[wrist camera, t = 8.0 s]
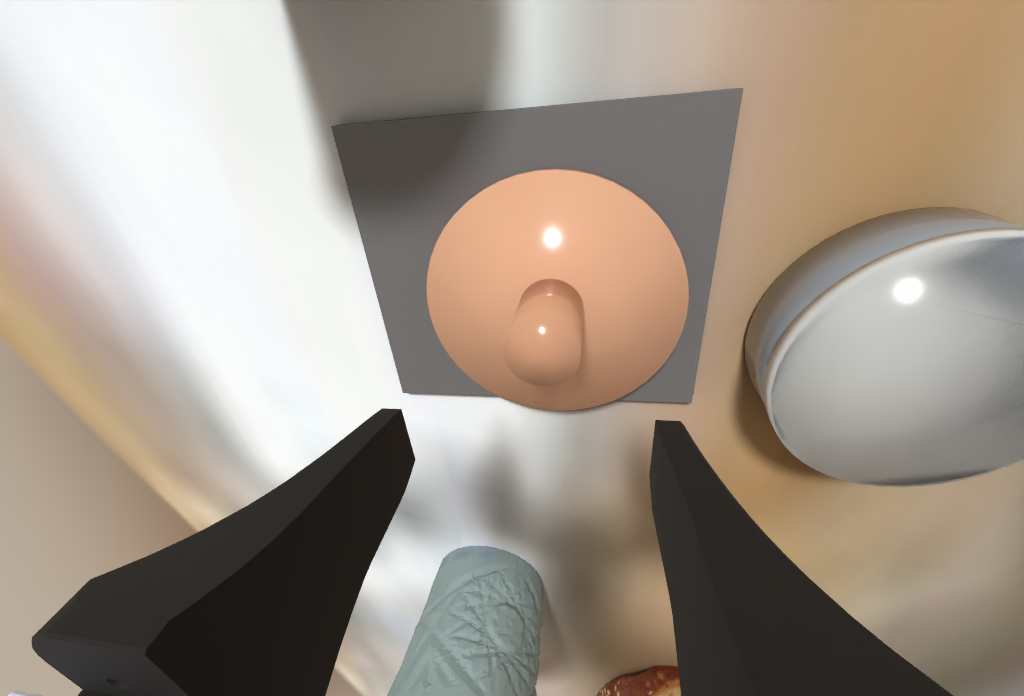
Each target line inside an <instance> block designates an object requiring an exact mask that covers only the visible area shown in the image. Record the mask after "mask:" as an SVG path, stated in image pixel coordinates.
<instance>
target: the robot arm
mask: <svg viewBox="0 0 1024 696" xmlns="http://www.w3.org/2000/svg"><path fill="white" fill-rule="evenodd" d="M414 462H415V457H414V453H413V450H412V446H411V442H410V439H409V435H408V432H407V428H406V424H405V421H404V417H403V414H402V410H401V409H381V410H380V411H378V412H377V413H375V414H374V415H373V416H372V417H370V418H369V419H368V420H366V421H365V422H364V423H363V424H361V425H360V426H359V427H358V428H356V429H355V430H354V431H353V432H351V433H350V434H349V435H348V436H346V437H345V438H344V439H342V440H341V441H340V442H339V443H337V444H336V445H335V446H334V447H332V448H331V449H330V450H328V451H327V452H326V453H325V454H323V455H322V456H321V457H319V458H318V459H316V460H315V461H314V462H312V463H311V464H310V465H308V466H307V467H305V468H304V469H303V470H301V471H300V472H299V473H297V474H296V475H294V476H293V477H292V478H290V479H289V480H287V481H286V482H284V483H283V484H281V485H280V486H278V487H277V488H275V489H274V490H272V491H270V492H269V493H267V494H266V495H264V496H262V497H261V498H259V499H258V500H256V501H254V502H253V503H251V504H249V505H248V506H246V507H244V508H242V509H241V510H239V511H237V512H235V513H233V514H231V515H230V516H228V517H226V518H224V519H222V520H221V521H219V522H217V523H215V524H213V525H211V526H210V527H208V528H206V529H204V530H202V531H200V532H198V533H196V534H194V535H192V536H190V537H188V538H186V539H184V540H182V541H179V542H177V543H175V544H173V545H171V546H169V547H166V548H164V549H162V550H160V551H158V552H156V553H153V554H151V555H149V556H147V557H144V558H142V559H140V560H137V561H134V562H132V563H130V564H127V565H125V566H122V567H120V568H117V569H115V570H113V571H110V572H108V573H105V574H103V575H100V576H98V577H95V578H93V579H91V580H89V581H88V582H87V583H86V584H85V585H84V586H83V587H82V588H81V589H80V590H79V591H78V592H77V593H76V594H75V595H74V596H73V597H72V598H71V599H70V600H69V601H68V602H67V603H66V604H65V605H64V606H63V607H62V608H61V609H60V610H59V611H58V612H57V613H56V614H55V615H54V616H53V617H52V618H51V619H50V620H49V621H48V622H47V623H46V624H45V625H44V626H43V627H42V628H41V629H40V630H39V631H38V632H37V633H36V634H35V635H34V636H33V637H32V648H33V649H34V650H35V652H36V653H37V654H38V656H40V657H41V658H42V659H43V660H44V661H45V662H47V663H48V664H49V665H51V666H52V667H53V668H55V669H56V670H58V671H59V672H60V673H61V674H63V675H64V676H65V677H67V678H68V679H69V680H71V681H72V682H74V683H75V684H76V685H78V686H79V687H80V688H81V689H83V690H82V691H81V692H80V693H79V695H78V696H325V694H326V691H327V688H328V685H329V682H330V678H331V675H332V672H333V669H334V665H335V662H336V659H337V656H338V652H339V649H340V646H341V643H342V640H343V637H344V634H345V632H346V629H347V626H348V623H349V620H350V617H351V614H352V611H353V608H354V605H355V603H356V600H357V597H358V595H359V592H360V589H361V586H362V584H363V581H364V578H365V576H366V573H367V571H368V569H369V566H370V564H371V562H372V560H373V558H374V556H375V553H376V551H377V549H378V547H379V545H380V543H381V541H382V539H383V537H384V535H385V533H386V531H387V529H388V526H389V524H390V522H391V520H392V518H393V516H394V514H395V512H396V510H397V508H398V505H399V503H400V501H401V499H402V497H403V495H404V492H405V490H406V487H407V484H408V481H409V478H410V475H411V472H412V469H413V465H414ZM650 488H651V499H652V510H653V516H654V521H655V526H656V531H657V536H658V541H659V546H660V551H661V556H662V561H663V566H664V571H665V576H666V581H667V586H668V591H669V596H670V602H671V608H672V614H673V623H674V632H675V641H676V650H677V660H678V670H679V680H680V690H681V696H953V695H951V694H950V693H949V692H947V691H946V690H945V689H943V688H942V687H941V686H939V685H938V684H937V683H936V682H934V681H933V680H932V679H930V678H929V677H928V676H926V675H925V674H924V673H922V672H921V671H920V670H918V669H917V668H916V667H914V666H913V665H912V664H910V663H909V662H908V661H906V660H905V659H904V658H902V657H901V656H900V655H898V654H897V653H896V652H894V651H893V650H892V649H891V648H889V647H888V646H887V645H886V644H884V643H883V642H882V641H881V640H880V639H878V638H877V637H876V636H875V635H873V634H872V633H871V632H870V631H869V630H867V629H866V628H865V627H864V626H863V625H861V624H860V623H859V622H858V621H856V620H855V619H854V618H853V617H852V616H851V615H849V614H848V613H847V612H846V611H845V610H844V609H843V608H842V607H841V606H839V605H838V604H837V603H836V602H835V601H834V600H833V599H832V598H831V597H829V596H828V595H827V594H826V593H825V592H824V591H823V590H822V589H820V588H819V587H818V586H817V585H816V584H815V583H814V582H813V581H812V580H810V579H809V578H808V577H807V576H806V575H805V574H804V573H803V572H802V571H801V570H800V569H799V568H798V567H797V566H796V565H795V564H794V563H793V562H792V561H791V560H790V559H789V558H788V557H787V556H786V555H785V554H784V553H783V552H782V551H781V550H780V549H779V548H778V547H777V546H776V545H775V544H774V543H773V541H772V540H771V539H770V538H769V537H768V536H767V535H766V534H765V533H764V532H763V531H762V530H761V529H760V527H759V526H758V525H757V524H756V523H755V522H754V521H753V519H752V518H751V517H750V516H749V515H748V514H747V512H746V511H745V510H744V509H743V508H742V506H741V505H740V504H739V503H738V502H737V500H736V499H735V498H734V497H733V495H732V494H731V493H730V492H729V490H728V489H727V488H726V486H725V485H724V484H723V482H722V481H721V480H720V478H719V477H718V476H717V474H716V473H715V472H714V470H713V469H712V468H711V466H710V465H709V463H708V462H707V460H706V459H705V458H704V456H703V455H702V453H701V452H700V450H699V449H698V447H697V446H696V444H695V443H694V441H693V439H692V438H691V436H690V435H689V433H688V431H687V430H686V428H685V426H684V425H683V424H682V423H681V422H680V421H663V420H656V421H655V430H654V439H653V448H652V457H651V466H650ZM8 696H40V695H35V694H31V693H26V692H21V691H15V692H12V693H10V694H9V695H8Z"/></svg>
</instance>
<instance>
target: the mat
mask: <svg viewBox="0 0 1024 696" xmlns="http://www.w3.org/2000/svg"><path fill="white" fill-rule="evenodd" d="M742 92H743V88H736V89H725V90H714V91H703V92H692V93H682V94H671V95H660V96H649V97H638V98H627V99H616V100H606V101H595V102H584V103H573V104H562V105H551V106H540V107H530V108H519V109H508V110H497V111H486V112H475V113H464V114H454V115H443V116H432V117H421V118H410V119H399V120H388V121H378V122H367V123H356V124H345V125H336V126H332V130H333V134H334V138H335V141H336V145H337V149H338V153H339V156H340V160H341V164H342V167H343V171H344V175H345V179H346V182H347V186H348V190H349V193H350V197H351V201H352V205H353V208H354V212H355V216H356V220H357V223H358V227H359V231H360V234H361V238H362V242H363V246H364V249H365V253H366V257H367V260H368V264H369V268H370V272H371V275H372V279H373V283H374V287H375V290H376V294H377V298H378V301H379V305H380V309H381V313H382V316H383V320H384V324H385V327H386V331H387V335H388V339H389V342H390V346H391V350H392V354H393V357H394V361H395V365H396V368H397V372H398V376H399V380H400V383H401V387H402V391H403V393H422V394H450V395H479V396H497V395H495V394H493V393H491V392H490V391H488V390H487V389H485V388H483V387H482V386H480V385H479V384H478V383H476V382H475V381H474V380H472V379H471V378H470V377H469V376H468V375H466V374H465V373H464V372H463V371H462V370H461V369H460V368H459V367H458V366H457V364H456V363H455V362H454V361H453V360H452V358H451V357H450V356H449V354H448V353H447V351H446V350H445V348H444V347H443V345H442V344H441V342H440V340H439V337H438V335H437V333H436V331H435V329H434V326H433V323H432V320H431V317H430V312H429V307H428V302H427V288H426V287H427V273H428V268H429V263H430V258H431V255H432V253H433V250H434V247H435V244H436V242H437V240H438V238H439V236H440V235H441V233H442V231H443V229H444V228H445V226H446V225H447V224H448V222H449V221H450V220H451V218H452V217H453V216H454V214H455V213H456V212H457V211H458V210H459V209H460V208H461V207H462V206H463V205H464V204H465V203H466V202H468V201H469V200H470V199H471V198H472V197H474V196H475V195H476V194H478V193H479V192H480V191H482V190H483V189H484V188H486V187H488V186H490V185H492V184H493V183H495V182H497V181H499V180H501V179H504V178H506V177H509V176H512V175H514V174H517V173H521V172H526V171H530V170H535V169H546V168H566V169H577V170H582V171H586V172H591V173H595V174H598V175H601V176H603V177H606V178H609V179H612V180H614V181H616V182H617V183H619V184H621V185H623V186H625V187H627V188H629V189H630V190H632V191H633V192H634V193H636V194H637V195H638V196H640V197H641V198H642V199H644V200H645V201H646V202H647V203H648V204H649V205H650V206H651V207H652V208H653V209H654V210H655V211H656V212H657V213H658V214H659V216H660V217H661V218H662V220H663V221H664V223H665V224H666V225H667V227H668V228H669V230H670V232H671V234H672V236H673V237H674V239H675V241H676V243H677V245H678V247H679V249H680V252H681V255H682V258H683V261H684V264H685V267H686V272H687V278H688V285H689V303H688V310H687V317H686V320H685V324H684V327H683V331H682V333H681V336H680V338H679V340H678V342H677V344H676V347H675V348H674V350H673V351H672V353H671V354H670V356H669V358H668V359H667V360H666V362H665V363H664V364H663V365H662V366H661V368H660V369H659V370H658V371H657V372H656V373H655V374H654V375H653V376H652V377H651V378H649V379H648V380H647V381H646V382H645V383H643V384H642V385H641V386H639V387H638V388H636V389H635V390H633V391H632V392H630V393H628V394H626V395H624V396H623V397H621V398H618V399H616V400H622V401H650V402H679V403H692V397H693V391H694V385H695V379H696V373H697V366H698V360H699V354H700V348H701V342H702V336H703V330H704V324H705V318H706V312H707V305H708V299H709V293H710V287H711V281H712V275H713V269H714V263H715V257H716V251H717V244H718V238H719V232H720V226H721V220H722V214H723V208H724V202H725V196H726V190H727V183H728V177H729V171H730V165H731V159H732V153H733V147H734V141H735V135H736V128H737V122H738V116H739V110H740V104H741V98H742Z"/></svg>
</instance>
